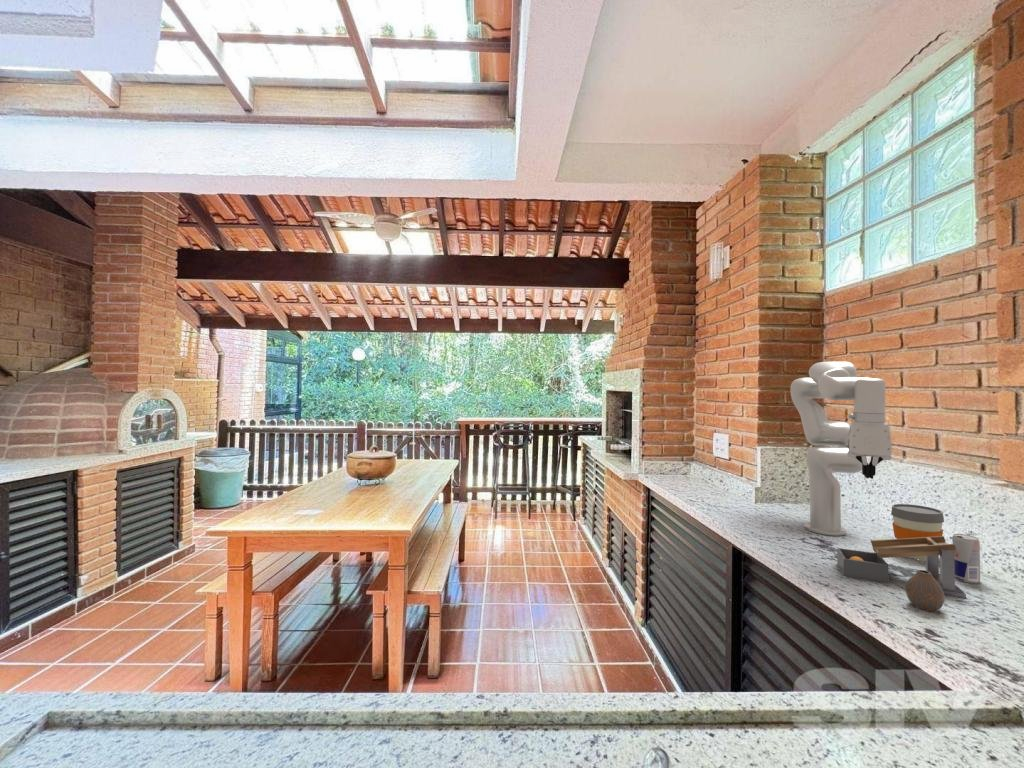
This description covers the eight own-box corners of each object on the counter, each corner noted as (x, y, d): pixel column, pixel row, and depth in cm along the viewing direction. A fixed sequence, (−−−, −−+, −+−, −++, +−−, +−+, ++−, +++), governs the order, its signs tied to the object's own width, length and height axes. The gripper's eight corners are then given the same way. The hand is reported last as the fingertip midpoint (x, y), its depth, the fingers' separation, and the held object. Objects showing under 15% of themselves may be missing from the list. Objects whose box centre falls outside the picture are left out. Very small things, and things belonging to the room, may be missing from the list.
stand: (916, 573, 129) (915, 535, 129) (944, 577, 126) (943, 538, 126) (934, 593, 117) (934, 551, 117) (965, 598, 114) (965, 554, 114)
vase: (925, 600, 113) (924, 565, 113) (952, 614, 106) (952, 577, 106) (898, 601, 112) (898, 566, 113) (924, 615, 106) (924, 577, 106)
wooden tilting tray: (867, 542, 137) (864, 533, 138) (936, 538, 130) (933, 528, 130) (880, 559, 124) (877, 549, 124) (958, 555, 117) (955, 544, 117)
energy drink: (951, 574, 129) (951, 532, 129) (978, 579, 125) (977, 536, 125) (954, 580, 124) (953, 537, 125) (981, 585, 121) (981, 541, 121)
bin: (837, 564, 136) (837, 547, 136) (878, 570, 131) (878, 553, 131) (843, 576, 127) (843, 558, 127) (888, 583, 123) (888, 565, 123)
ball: (855, 571, 131) (843, 559, 133) (867, 563, 130) (855, 551, 132) (858, 576, 128) (846, 564, 129) (870, 567, 127) (858, 556, 128)
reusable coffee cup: (926, 565, 135) (925, 515, 135) (881, 551, 147) (881, 505, 147) (955, 561, 138) (954, 512, 138) (909, 547, 150) (909, 502, 151)
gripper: (842, 418, 138) (841, 477, 138) (904, 420, 131) (903, 482, 132) (837, 416, 144) (836, 472, 145) (896, 418, 138) (895, 477, 138)
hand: (868, 477), depth 138 cm, fingers closed
